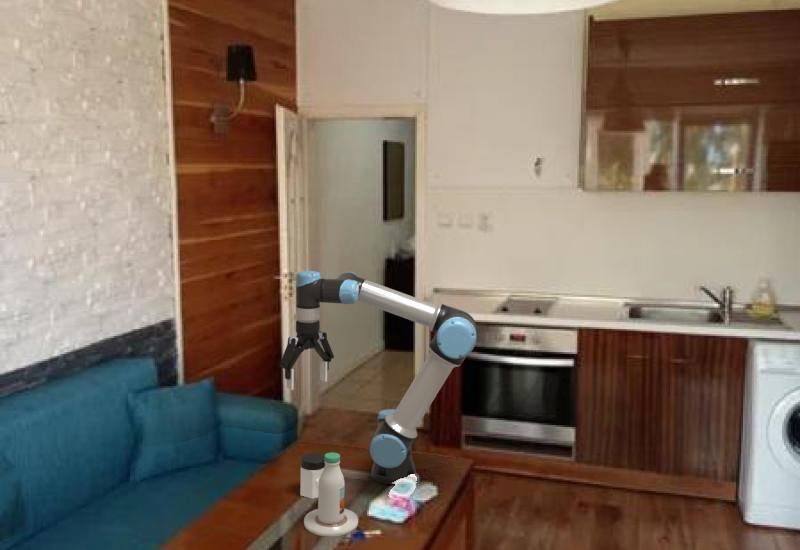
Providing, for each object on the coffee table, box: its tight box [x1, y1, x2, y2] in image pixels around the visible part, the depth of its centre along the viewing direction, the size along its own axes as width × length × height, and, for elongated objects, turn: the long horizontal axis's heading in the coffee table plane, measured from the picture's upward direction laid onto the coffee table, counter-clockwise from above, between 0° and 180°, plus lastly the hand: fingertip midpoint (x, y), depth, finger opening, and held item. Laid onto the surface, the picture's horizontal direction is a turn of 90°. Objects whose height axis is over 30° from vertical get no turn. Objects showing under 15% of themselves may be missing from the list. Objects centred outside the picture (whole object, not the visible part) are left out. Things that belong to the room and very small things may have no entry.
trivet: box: [303, 508, 359, 538], centre depth 227 cm, size 16×16×1 cm
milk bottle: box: [317, 452, 346, 524], centre depth 225 cm, size 8×8×20 cm
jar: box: [299, 452, 325, 500], centre depth 246 cm, size 9×8×12 cm
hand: (307, 384), depth 246 cm, fingers open, 13 cm apart
